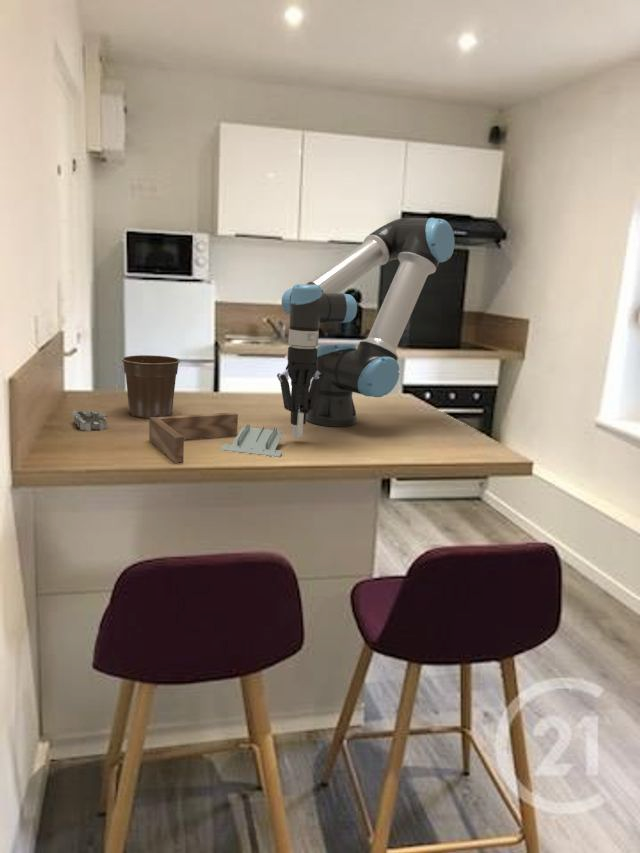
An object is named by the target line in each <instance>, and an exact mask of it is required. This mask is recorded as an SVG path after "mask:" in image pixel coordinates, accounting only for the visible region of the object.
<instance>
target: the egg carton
mask: <svg viewBox="0 0 640 853" xmlns="http://www.w3.org/2000/svg"><path fill="white" fill-rule="evenodd" d="M73 418H74V419H73V420H74V425H76V426H77V428H79V430H80V431H86V432H91V431H92V429H93V430H98V429H99V431H104V430H106V428H108V420H107V419H108V414H102V413H100V412H98V411H95V412H93V411H92V410H90V411H87V410H81V411H80V410H79V411H78V410H75V409H73Z"/></svg>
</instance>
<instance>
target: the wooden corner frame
mask: <svg viewBox="0 0 640 853" xmlns="http://www.w3.org/2000/svg"><path fill="white" fill-rule="evenodd" d="M238 415H239V414H238V413H237V412H220V413H219V412H218V413H203V414H202V413H200V414H188V415H187V414H186V415H174V416H172V415H170V416H166V417H160V416H156V417H152V418H148V421H149V422H148V425H149V426H148V427H149V429H148V438H149V439H148V441H149V442H150V444H152V443H153V444H154V445H155V446H154V445H153V444H152V445H153V446H154V447H156V449H158V448H159V449H160V450H161V451H162V452H161V451H160V450H159V449H158V450H159V451H160V452H161V453H163V454H164V455H165V454H166V455H167V456H168V457H169V458H168V457H167V456H166V455H165V456H166V457H167V458H168V459H169V460H170V461H171V462H173V461H174V462H175V463H174V462H173V463H174V464H179V463H178V462H182V463H184V456H185V455H184V451H185V448H184V447H185V446H184V445H185V444H184V442H185V441H187V440H186V439H195V440H201V439H200V438H207V439H216V438H217V439H219V437H220V438H231V437H232V438H233V437H237V435H238V419H239V418H238Z"/></svg>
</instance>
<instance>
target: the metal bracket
mask: <svg viewBox="0 0 640 853" xmlns="http://www.w3.org/2000/svg"><path fill="white" fill-rule="evenodd" d="M283 435H284V431H283V430H278V428H277V426H274V427H273V428H272V429H266V428H265V424H263V425H262V427H261V428H259V427H251V426H250V424H248V423H246V424H245V426H241V428H240V430H239V432H237V436H235V438H234V440H233V442H232V444H228V443H223V444H222V446H221V448H220V449H219V450H224V451H232V452H233V453H235V452H239V453H238V454H243V453H249V454H248V455H252V454H258V455H257V456H260V455H266V456H274V457H280V458H281V456H282V454H283V451H282V450H279V449H277V447H278V445H279V443H280V441H281V438H282V437H283ZM224 451H223V452H224ZM232 452H231V453H232ZM266 456H265V457H266ZM274 457H273V458H274Z"/></svg>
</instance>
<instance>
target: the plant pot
mask: <svg viewBox="0 0 640 853" xmlns="http://www.w3.org/2000/svg"><path fill="white" fill-rule="evenodd" d="M121 361H122V363H123V371H124V372H123V373H124V374H125V381H126V392H127V401H128V402H127V404H128V414H130V415H131V416H132V417H137V418H143V419H149V418H152V417H168V416H169V415H170V416H172V414H173V407H174V406H173V405H174V397H175V388H176V381H177V380H176V378H177V375H178V372H179V363H181V359H179V358H177V357H173V356H165V355H151V354H150V355H146V354H145V355H143V354H139V355H138V354H137V355H129V356H124V357H123V356H122V358H121Z"/></svg>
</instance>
